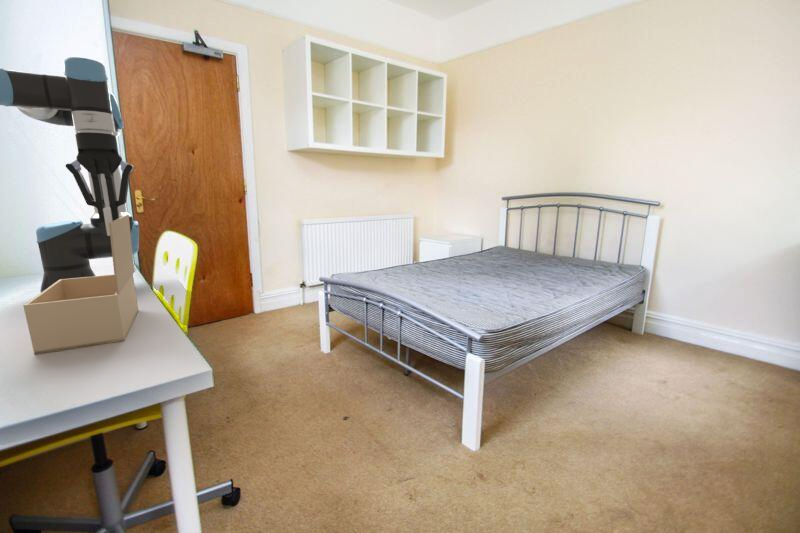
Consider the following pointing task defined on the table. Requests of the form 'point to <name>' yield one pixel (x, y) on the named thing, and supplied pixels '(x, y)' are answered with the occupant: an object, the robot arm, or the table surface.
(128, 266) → the carton lid
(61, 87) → the robot arm
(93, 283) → the carton
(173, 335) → the table surface
